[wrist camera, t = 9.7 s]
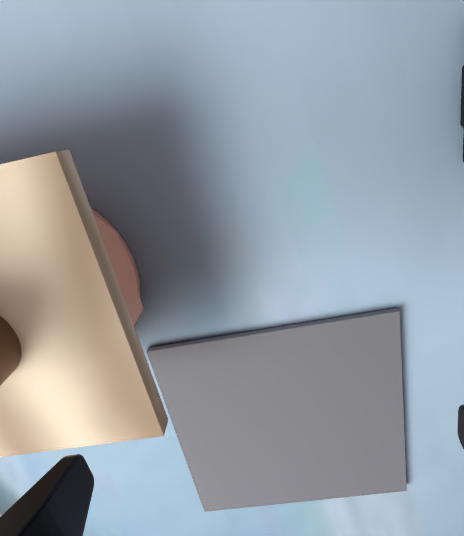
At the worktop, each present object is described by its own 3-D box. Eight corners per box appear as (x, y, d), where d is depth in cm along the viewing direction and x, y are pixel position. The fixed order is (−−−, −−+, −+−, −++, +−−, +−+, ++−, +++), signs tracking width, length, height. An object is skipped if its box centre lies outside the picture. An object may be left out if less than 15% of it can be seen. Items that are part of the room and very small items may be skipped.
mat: (396, 307, 20) (399, 311, 20) (404, 485, 26) (406, 490, 25) (148, 347, 22) (146, 351, 22) (205, 506, 28) (204, 511, 27)
